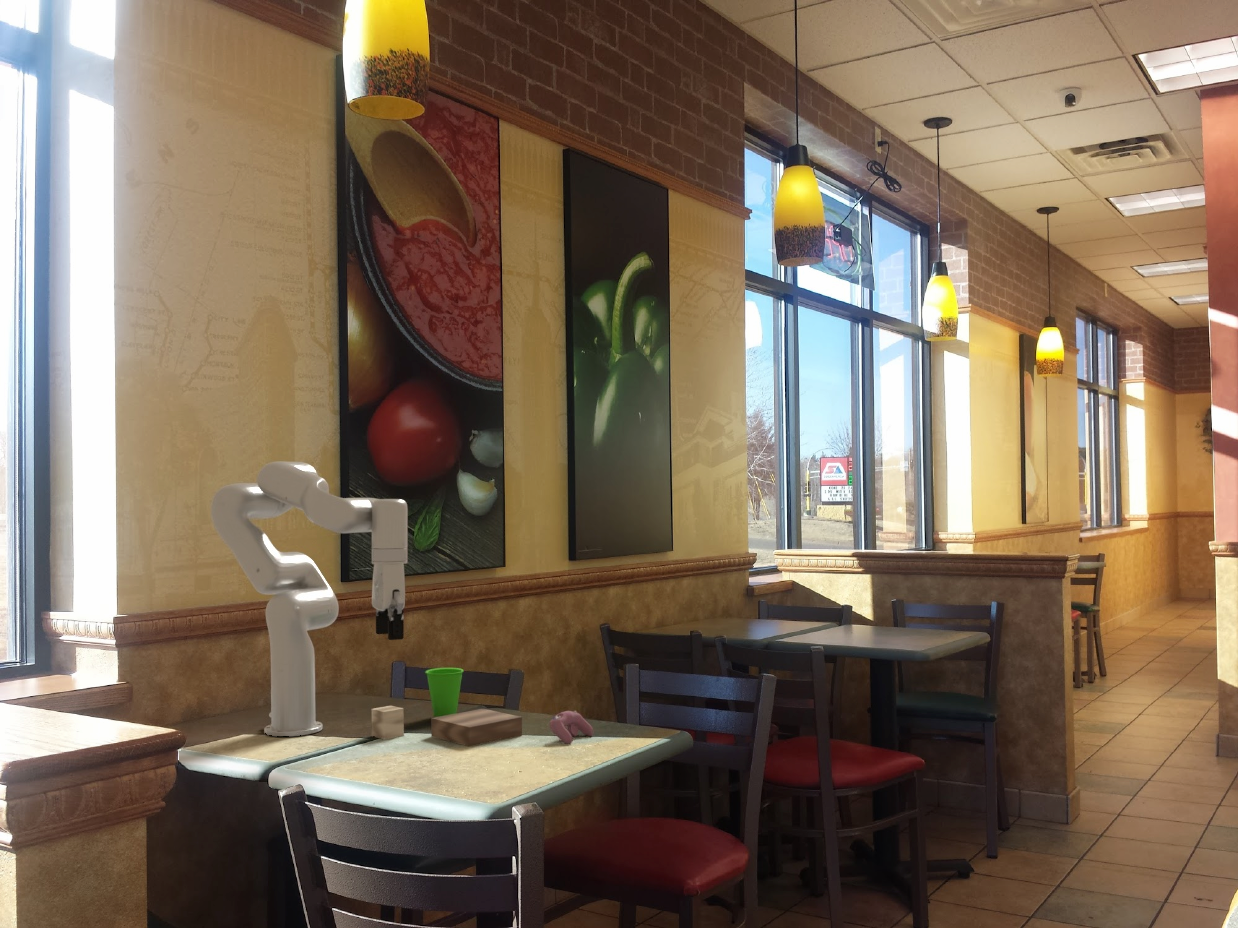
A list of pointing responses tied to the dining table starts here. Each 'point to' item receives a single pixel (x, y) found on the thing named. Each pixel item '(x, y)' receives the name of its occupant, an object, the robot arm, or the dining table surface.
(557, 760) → the dining table surface
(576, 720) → the video game controller
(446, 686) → the cup
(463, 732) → the walnut block
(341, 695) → the dining table surface
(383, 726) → the birch block
